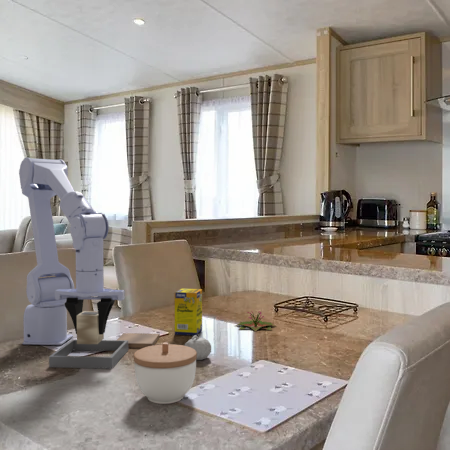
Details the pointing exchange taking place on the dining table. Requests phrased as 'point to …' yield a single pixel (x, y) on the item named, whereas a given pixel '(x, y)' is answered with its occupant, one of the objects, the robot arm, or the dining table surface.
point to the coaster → (139, 339)
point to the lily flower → (255, 323)
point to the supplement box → (188, 311)
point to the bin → (66, 361)
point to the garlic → (199, 347)
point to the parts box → (88, 328)
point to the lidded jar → (165, 372)
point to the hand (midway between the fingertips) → (90, 333)
